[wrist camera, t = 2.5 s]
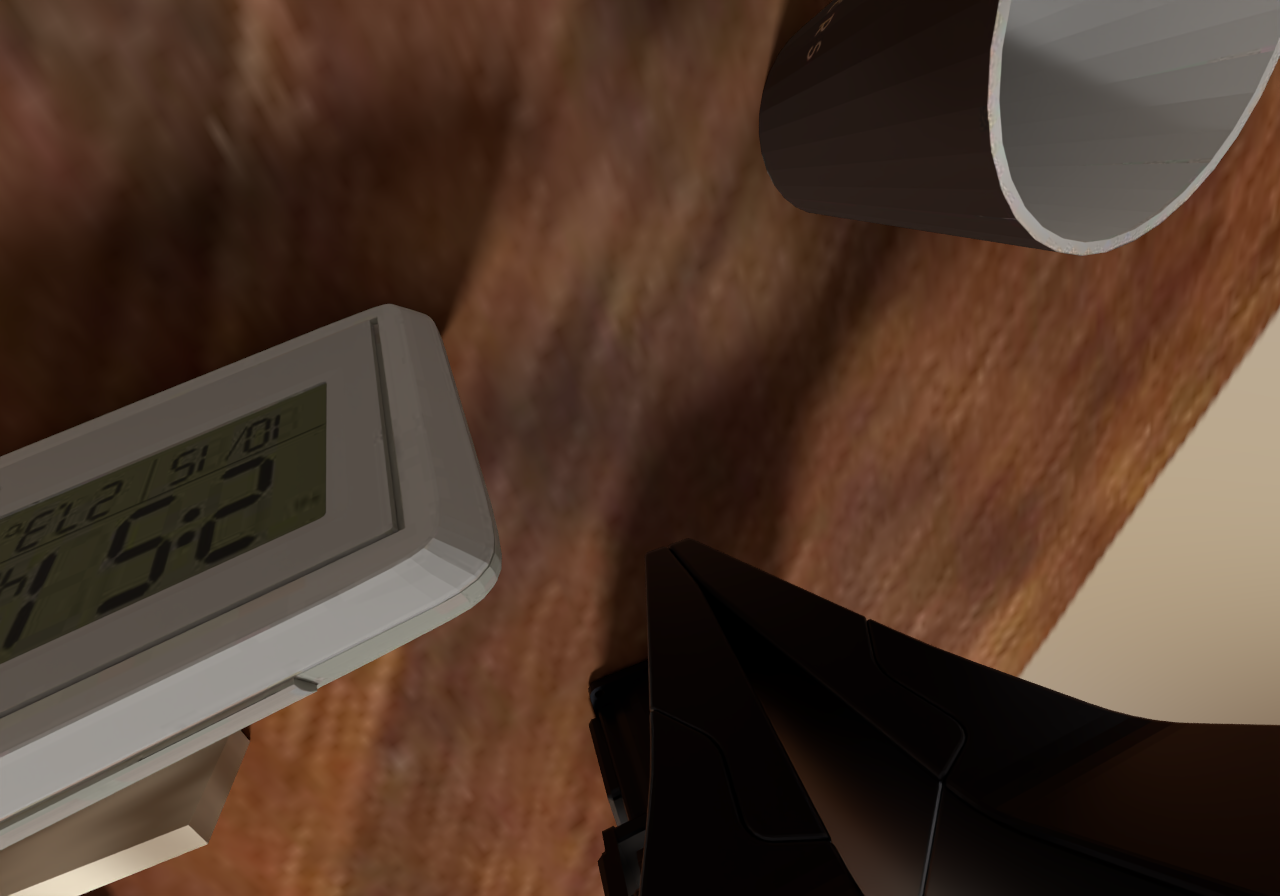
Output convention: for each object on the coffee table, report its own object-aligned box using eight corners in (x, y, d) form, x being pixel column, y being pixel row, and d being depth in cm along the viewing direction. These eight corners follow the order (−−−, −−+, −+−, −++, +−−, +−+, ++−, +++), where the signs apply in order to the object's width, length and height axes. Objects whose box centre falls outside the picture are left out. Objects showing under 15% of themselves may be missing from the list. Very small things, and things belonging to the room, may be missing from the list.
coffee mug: (735, 259, 20) (955, 283, 11) (725, -28, 16) (1048, -342, 7) (968, 220, 22) (1294, 213, 14) (1007, -33, 19) (1488, -265, 10)
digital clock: (448, 289, 17) (434, 360, 8) (513, 511, 21) (557, 736, 12) (-183, 401, 13) (-1692, 805, 4) (41, 646, 17) (-449, 1135, 8)
